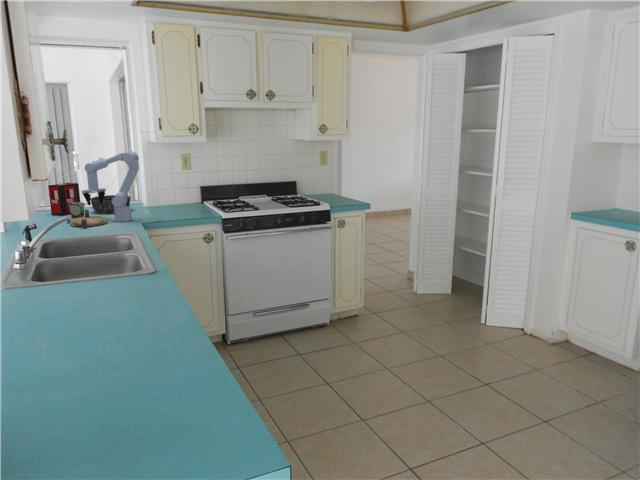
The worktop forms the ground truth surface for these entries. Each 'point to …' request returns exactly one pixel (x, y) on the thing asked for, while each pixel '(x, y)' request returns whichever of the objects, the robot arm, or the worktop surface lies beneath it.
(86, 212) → the turntable
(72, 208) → the food container
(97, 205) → the bundt pan
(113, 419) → the worktop surface
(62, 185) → the cleaning product box
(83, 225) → the pointer post
